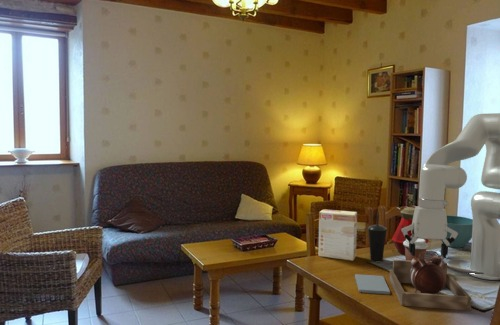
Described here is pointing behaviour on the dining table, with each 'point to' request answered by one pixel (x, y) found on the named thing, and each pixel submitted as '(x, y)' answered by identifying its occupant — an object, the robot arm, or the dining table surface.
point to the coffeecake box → (337, 234)
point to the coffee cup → (419, 247)
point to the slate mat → (371, 284)
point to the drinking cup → (377, 241)
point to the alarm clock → (428, 274)
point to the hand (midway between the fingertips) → (427, 255)
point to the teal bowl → (460, 230)
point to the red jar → (405, 221)
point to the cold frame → (427, 300)
